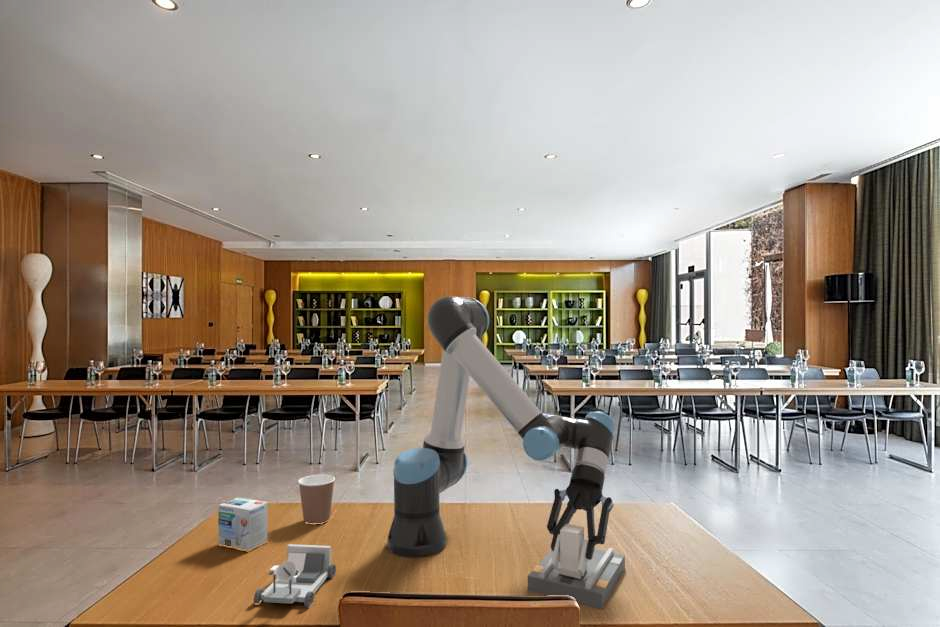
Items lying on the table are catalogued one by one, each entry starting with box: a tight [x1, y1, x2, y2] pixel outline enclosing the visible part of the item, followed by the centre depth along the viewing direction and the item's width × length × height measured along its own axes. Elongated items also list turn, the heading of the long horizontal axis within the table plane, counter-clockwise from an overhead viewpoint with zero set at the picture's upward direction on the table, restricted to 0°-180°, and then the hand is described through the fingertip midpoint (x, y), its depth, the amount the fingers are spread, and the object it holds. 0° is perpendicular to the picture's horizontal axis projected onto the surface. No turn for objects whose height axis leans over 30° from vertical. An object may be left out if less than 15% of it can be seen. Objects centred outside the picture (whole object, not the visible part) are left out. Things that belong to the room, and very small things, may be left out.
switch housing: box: [527, 547, 626, 610], centre depth 119 cm, size 16×20×4 cm
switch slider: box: [557, 523, 587, 579], centre depth 116 cm, size 5×5×9 cm
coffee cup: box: [297, 474, 336, 523], centre depth 155 cm, size 10×10×12 cm
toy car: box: [253, 543, 337, 609], centre depth 114 cm, size 18×10×12 cm
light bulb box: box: [217, 497, 269, 550], centre depth 139 cm, size 11×7×11 cm, turn 68°
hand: (567, 569), depth 112 cm, fingers open, 5 cm apart
